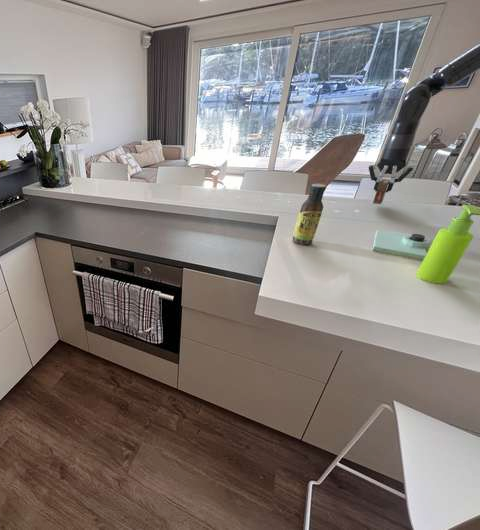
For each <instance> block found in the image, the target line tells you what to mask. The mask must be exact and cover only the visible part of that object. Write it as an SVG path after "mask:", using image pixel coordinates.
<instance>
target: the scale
mask: <svg viewBox="0 0 480 530" xmlns="http://www.w3.org/2000/svg"><path fill="white" fill-rule="evenodd" d="M412 234H413V233H405V232H399V231H392V230H387V229H386V230H385V229H380V228H377V229H376V231H375V235H374V240H373V246H372V251H375V252H379V253H385V254H391V255H395V256H401V257H406V258H412V259H416V260H422V261H423V260H424V258H425V256H426V254H427V248H428V247H429V246H430V245H431V244H430V243H431V240H430V239H429V238H427V237H425V238H424V240H423V242H417V241H413V240H411V239H410V238H411V236H412Z"/></svg>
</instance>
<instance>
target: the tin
mask: <svg viewBox="0 0 480 530" xmlns="http://www.w3.org/2000/svg"><path fill="white" fill-rule="evenodd" d="M380 181H381V182H380V184H379V187H378V189H377V191H375V195H374V199H373V201H372V204H373V205H374V204H375V205H381V204H382V202H383V201H384V198H385V196H386V193H387V192H386V190H387V187H388V184H389V182H390V181H391V179H389V178H382V179H381V180H380Z"/></svg>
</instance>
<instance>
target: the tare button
mask: <svg viewBox="0 0 480 530" xmlns="http://www.w3.org/2000/svg"><path fill="white" fill-rule="evenodd" d="M411 234H412V236H411V238H410V239H411V240H413V241H417V242H423V240H424V238H426V236H425V235H424V234H419V233H411Z"/></svg>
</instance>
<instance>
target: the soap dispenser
mask: <svg viewBox="0 0 480 530" xmlns="http://www.w3.org/2000/svg"><path fill="white" fill-rule="evenodd" d="M461 208H463V209H462V211H461V213H460V215H459V216H456V217H453V218H452V220H451V221H450V223H449V225H448V226H447V228H440V229H439V230H438V231H437V234H436V235H435V237H434V239H433V242H431V244H430V246H429V249H428V250H427V251H426V256H425V258H424V260H422V261H421V263H420V265H419V268H418V270H417V271H416V273H415V275H416V276H417V277H418V278H419V279H421V280H423V281H425V282H428V283H433V284H438V285H439V284H445V283H447V282H448V280H449V279H450V277H451V275H452V273H453V272H454V270H455V269H456V267H457V265H458V264H459V262H460V260H461V258H462V257H463V255H464V254H465V252H466V250H467V248H468V247H469V246H470V243H471V242H472V241H473V239H474V234H472V233H471V232H469V231H470V229H471V228H472V225H473V224H474V223H475V221H474V220H473V219H472V218H471V217H472V216H480V208H479V207H478V206H476V205H474V204H473V205H472V204H462V206H461Z"/></svg>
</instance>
